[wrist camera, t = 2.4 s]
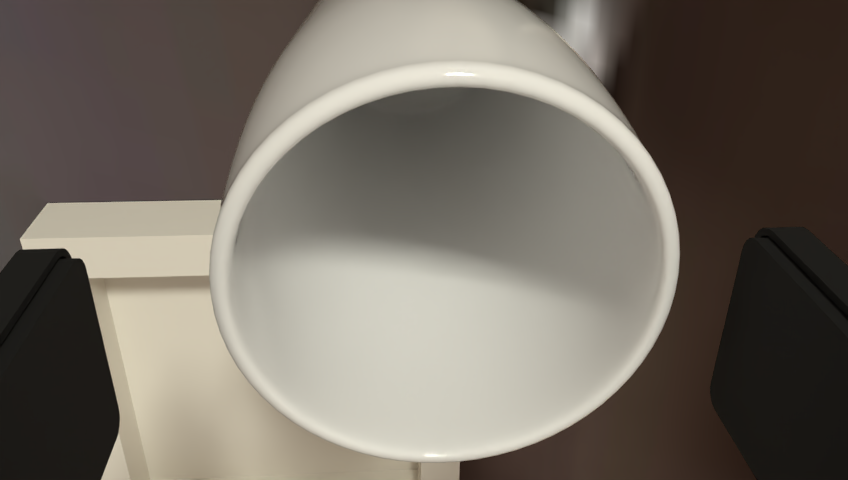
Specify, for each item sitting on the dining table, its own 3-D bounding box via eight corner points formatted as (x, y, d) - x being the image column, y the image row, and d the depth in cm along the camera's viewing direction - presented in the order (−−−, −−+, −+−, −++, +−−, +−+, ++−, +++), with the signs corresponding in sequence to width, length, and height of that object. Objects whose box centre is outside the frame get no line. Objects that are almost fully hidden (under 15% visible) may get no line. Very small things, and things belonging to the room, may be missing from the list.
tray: (463, 195, 27) (470, 229, 25) (451, 482, 34) (456, 527, 32) (47, 203, 26) (19, 238, 24) (123, 495, 33) (107, 542, 31)
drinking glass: (559, -8, 24) (791, 238, 11) (429, 162, 26) (490, 525, 13) (374, -152, 21) (383, -62, 8) (251, 49, 24) (114, 355, 11)
